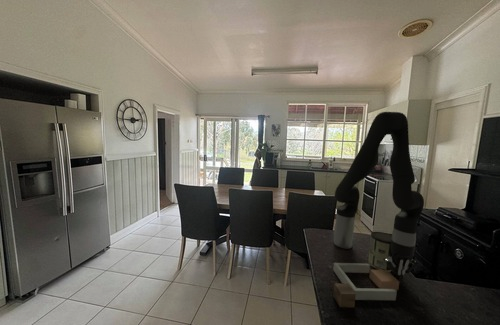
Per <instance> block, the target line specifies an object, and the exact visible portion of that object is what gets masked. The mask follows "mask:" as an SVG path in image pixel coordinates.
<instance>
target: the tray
mask: <svg viewBox="0 0 500 325" xmlns="http://www.w3.org/2000/svg"><path fill="white" fill-rule="evenodd" d="M370 267H371V265H370V264H369V263H360V262H359V263H355V262H354V263H353V262H351V263H350V262H334V263H333V270H332V271H333V272H334V273H335V275H336V276H337V278H338V279H339V280H340V282H341V284H349V286H350V287H351V288H352V290H353V291H354V292H355V294H356V297H355V301H396V300H397V294H398V293H397V291H398V290H395V289H379V288H365V287H364V288H363V287H362V288H361V287H356V285H355V284H354V283H353V282H352V281H351V279H350V278H349V277H348V275H347V274H346V273H353V274H355V273H356V274H358V273H359V274H361V273H362V274H370V270H371V268H370Z"/></svg>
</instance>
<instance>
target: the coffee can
mask: <svg viewBox="0 0 500 325" xmlns="http://www.w3.org/2000/svg"><path fill="white" fill-rule="evenodd" d="M391 238H392V234H390V233H388V232H383V231H372V232H371V233H370V243H369V250H368V251H369V252H368V258H367V259H368V261H367V264H369V265H370V267H372V268H374V269H375V270H387V271H388V272H389V273H391V270H390V269H389V268H388V266H387V265H386V263H385V262H384V260H383V259H384V258H386V259H387V258H389V257H390V256H389V255H390V253H391V249H390V246H391ZM392 263H393V262H392ZM392 265H393V264H392Z"/></svg>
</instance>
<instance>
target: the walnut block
mask: <svg viewBox="0 0 500 325" xmlns="http://www.w3.org/2000/svg"><path fill="white" fill-rule="evenodd" d="M332 295H333V298H334V300H335V301H336V303H337V305H338V306H339V308H355V305H356V300H355V297H356V294H355V292H354V291H353V290H352V288H351V287H350V286H349V284H343V283H337V282H335V283H334V284H333V294H332Z"/></svg>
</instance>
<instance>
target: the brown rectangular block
mask: <svg viewBox="0 0 500 325" xmlns="http://www.w3.org/2000/svg"><path fill="white" fill-rule="evenodd" d="M369 279H370V280H371V281H372V282H373V283H374V285H376V286H377V287H378V288H377V289H395V290H396V291H399V287H400V283H399V281H398V280H397V279H396V278H395V277H394V274H392V273H391V272H388V271H387V270H378V269H370V270H369Z"/></svg>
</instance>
